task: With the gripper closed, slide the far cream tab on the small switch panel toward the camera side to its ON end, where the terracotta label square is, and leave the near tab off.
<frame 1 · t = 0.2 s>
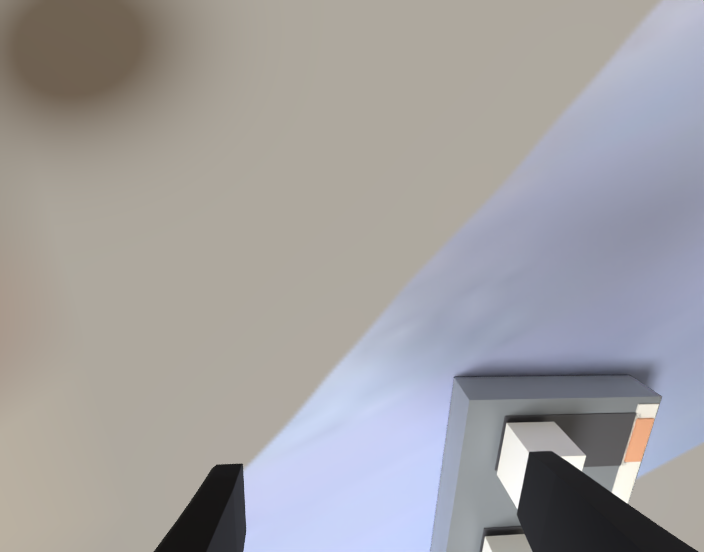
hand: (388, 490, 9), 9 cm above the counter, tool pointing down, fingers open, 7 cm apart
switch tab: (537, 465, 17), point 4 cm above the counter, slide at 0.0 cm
switch panel: (524, 467, 22), on the counter
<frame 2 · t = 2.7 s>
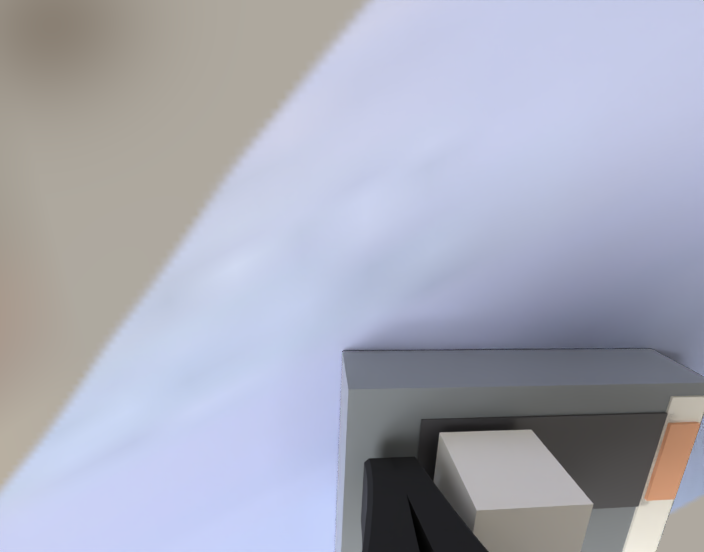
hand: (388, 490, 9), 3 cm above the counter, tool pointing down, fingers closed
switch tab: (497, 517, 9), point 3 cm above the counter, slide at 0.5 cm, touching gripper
switch panel: (477, 504, 13), on the counter
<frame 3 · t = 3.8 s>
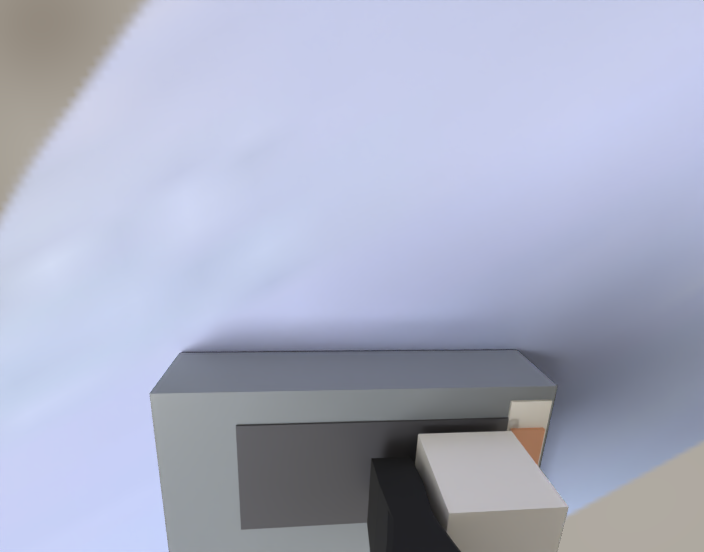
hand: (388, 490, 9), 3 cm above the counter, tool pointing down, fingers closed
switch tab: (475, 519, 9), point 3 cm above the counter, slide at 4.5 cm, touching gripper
switch panel: (348, 511, 13), on the counter
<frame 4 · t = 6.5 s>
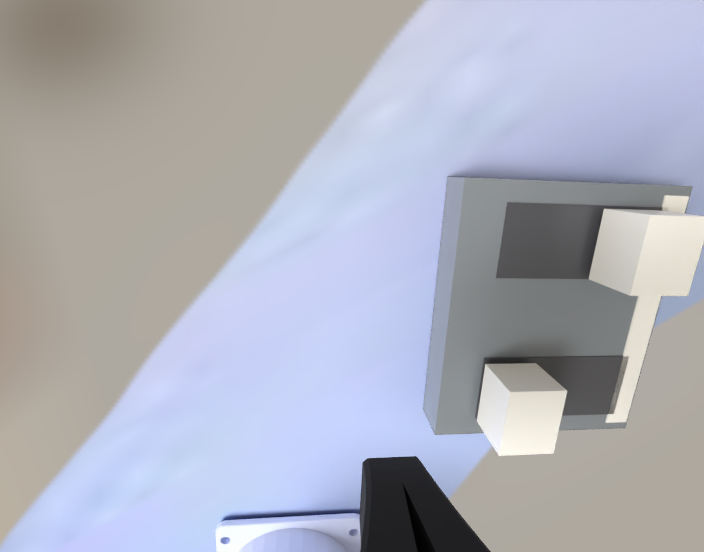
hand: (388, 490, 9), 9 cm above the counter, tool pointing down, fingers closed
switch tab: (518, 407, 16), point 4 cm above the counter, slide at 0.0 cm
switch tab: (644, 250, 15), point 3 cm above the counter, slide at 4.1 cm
switch panel: (530, 303, 19), on the counter
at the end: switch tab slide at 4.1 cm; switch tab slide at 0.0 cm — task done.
